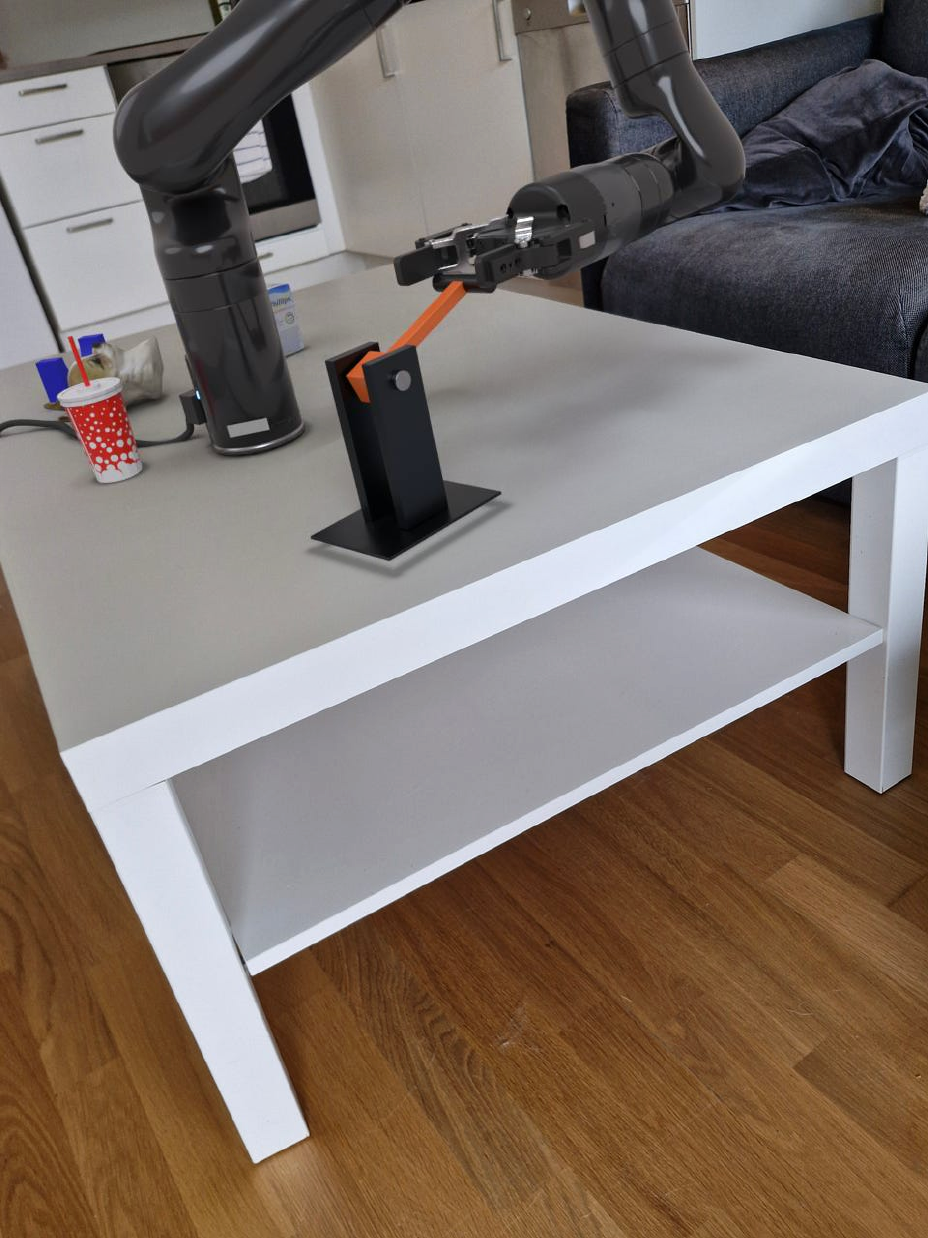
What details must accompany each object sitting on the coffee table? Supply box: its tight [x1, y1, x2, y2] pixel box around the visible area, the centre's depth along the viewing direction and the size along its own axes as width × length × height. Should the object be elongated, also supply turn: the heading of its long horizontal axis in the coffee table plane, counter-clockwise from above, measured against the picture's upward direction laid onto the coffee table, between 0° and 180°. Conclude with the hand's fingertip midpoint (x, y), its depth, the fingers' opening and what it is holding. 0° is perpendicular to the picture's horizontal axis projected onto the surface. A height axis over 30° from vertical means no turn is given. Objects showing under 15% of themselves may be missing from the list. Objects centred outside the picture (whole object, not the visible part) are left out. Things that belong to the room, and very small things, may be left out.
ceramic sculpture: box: [42, 334, 165, 423], centre depth 124 cm, size 11×9×15 cm
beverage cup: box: [57, 335, 144, 484], centre depth 101 cm, size 6×6×14 cm
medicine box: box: [265, 283, 306, 358], centre depth 136 cm, size 8×4×9 cm, turn 49°
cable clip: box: [34, 333, 107, 403], centre depth 136 cm, size 12×4×6 cm, turn 169°
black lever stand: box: [310, 341, 502, 562], centre depth 76 cm, size 12×9×14 cm
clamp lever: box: [347, 272, 498, 403], centre depth 76 cm, size 13×6×2 cm, turn 136°
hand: (437, 273), depth 76 cm, fingers open, 8 cm apart
